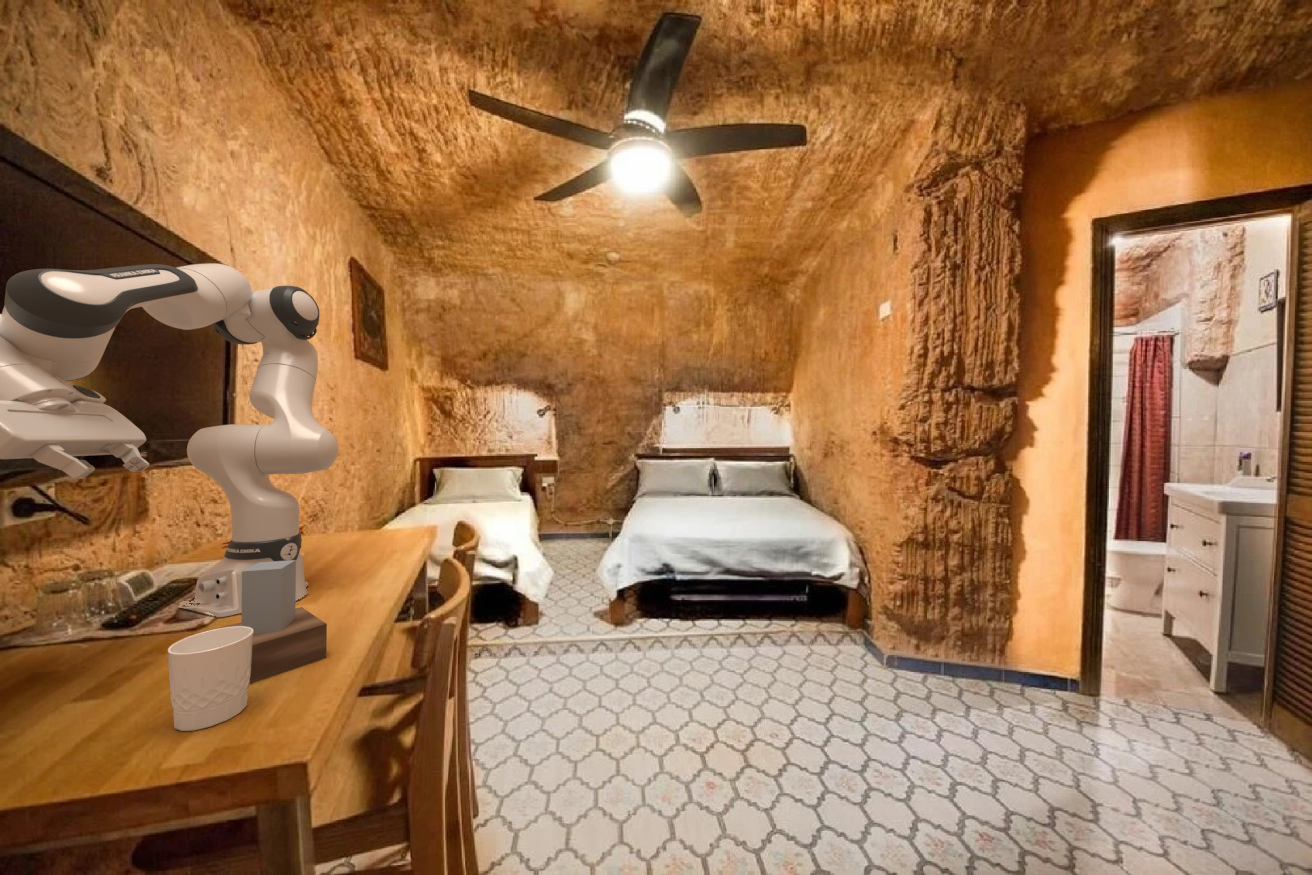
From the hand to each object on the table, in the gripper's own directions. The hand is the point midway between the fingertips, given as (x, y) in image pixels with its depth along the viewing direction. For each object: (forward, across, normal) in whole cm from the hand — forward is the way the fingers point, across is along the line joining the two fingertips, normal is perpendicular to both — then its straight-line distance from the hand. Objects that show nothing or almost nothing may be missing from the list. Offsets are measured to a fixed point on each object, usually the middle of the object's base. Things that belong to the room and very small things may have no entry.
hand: (116, 471), depth 63 cm
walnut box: (+35, +2, +10) cm, 36 cm away
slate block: (+30, +2, +6) cm, 31 cm away
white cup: (+35, -12, +10) cm, 38 cm away
